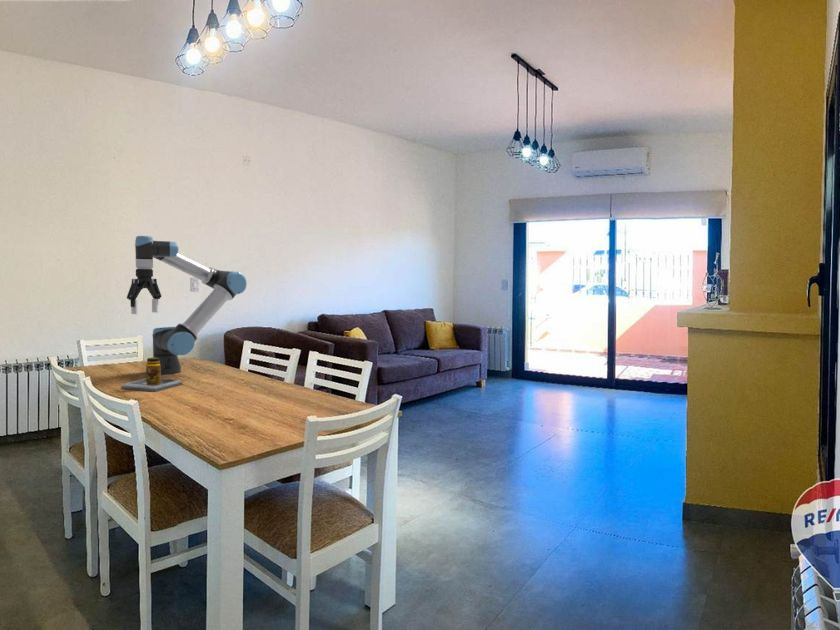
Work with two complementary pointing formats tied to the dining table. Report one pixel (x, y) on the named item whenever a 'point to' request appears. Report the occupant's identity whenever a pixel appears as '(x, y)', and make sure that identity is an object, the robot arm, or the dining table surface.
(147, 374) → the condiment
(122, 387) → the grey square tray
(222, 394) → the dining table surface
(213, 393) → the dining table surface
